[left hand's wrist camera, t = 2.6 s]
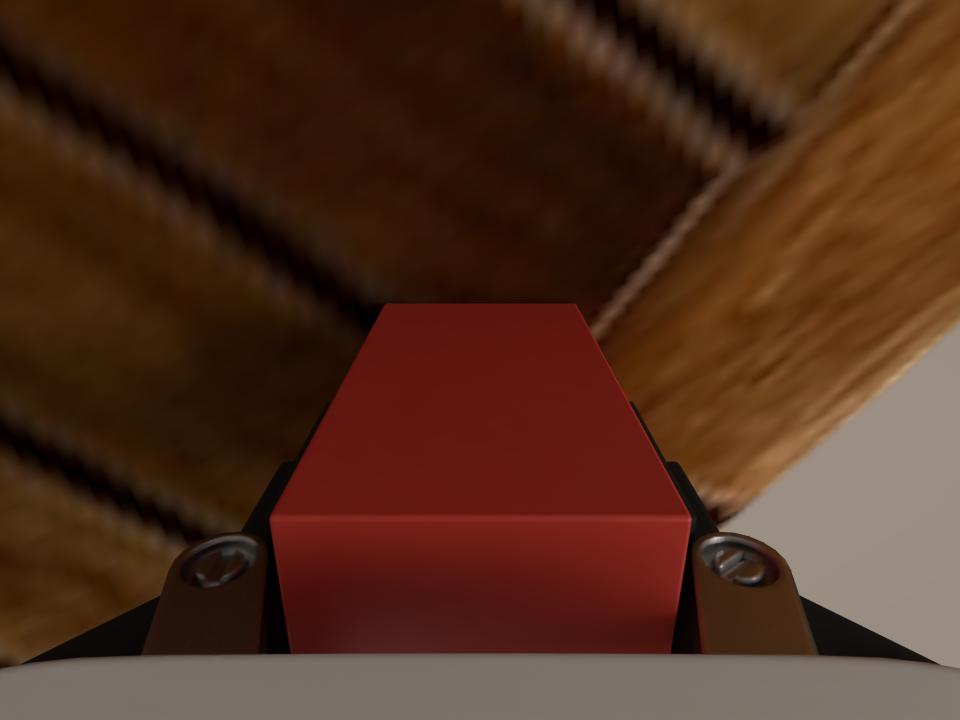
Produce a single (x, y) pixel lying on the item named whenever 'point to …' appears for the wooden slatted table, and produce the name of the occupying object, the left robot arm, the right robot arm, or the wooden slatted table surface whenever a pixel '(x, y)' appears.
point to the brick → (480, 496)
